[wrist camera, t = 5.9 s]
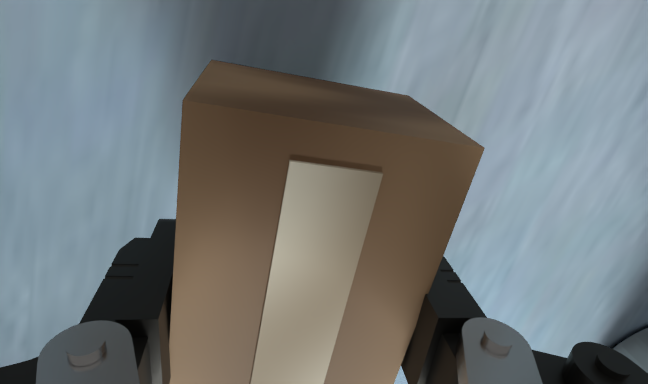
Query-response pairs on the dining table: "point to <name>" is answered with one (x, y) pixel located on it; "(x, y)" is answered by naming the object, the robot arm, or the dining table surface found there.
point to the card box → (306, 227)
